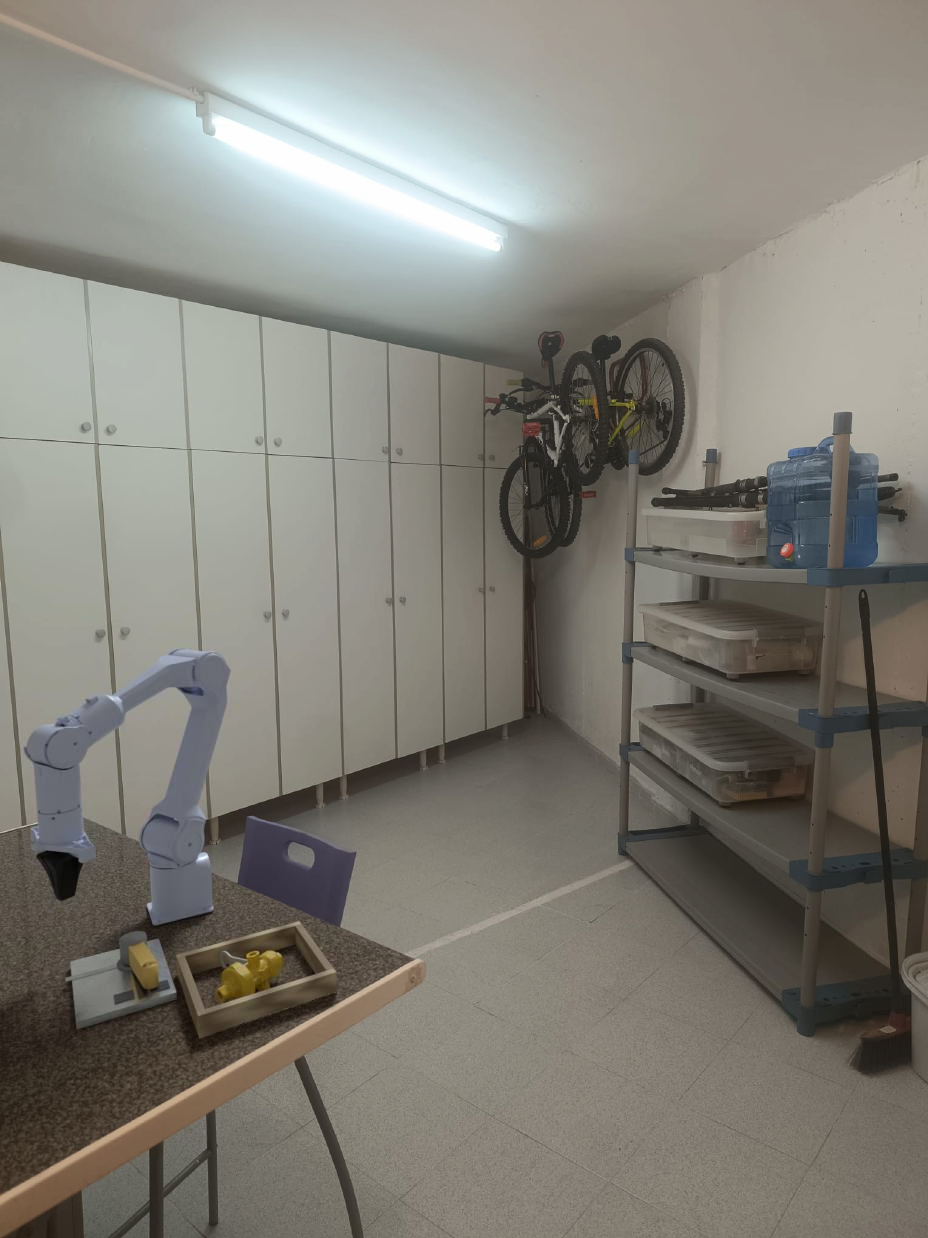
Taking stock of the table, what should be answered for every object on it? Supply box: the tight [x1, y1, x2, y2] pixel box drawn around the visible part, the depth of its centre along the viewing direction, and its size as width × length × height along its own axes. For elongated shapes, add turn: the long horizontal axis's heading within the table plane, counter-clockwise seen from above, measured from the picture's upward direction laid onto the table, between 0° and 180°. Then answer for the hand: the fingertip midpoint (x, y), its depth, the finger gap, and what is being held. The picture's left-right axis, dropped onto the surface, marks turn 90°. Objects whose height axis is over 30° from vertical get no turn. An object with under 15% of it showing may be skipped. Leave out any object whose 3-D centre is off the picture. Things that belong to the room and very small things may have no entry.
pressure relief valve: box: [215, 951, 284, 1003], centre depth 101 cm, size 6×12×10 cm
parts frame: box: [175, 921, 338, 1040], centre depth 102 cm, size 18×16×3 cm
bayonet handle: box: [118, 930, 159, 989], centre depth 103 cm, size 11×4×3 cm, turn 39°
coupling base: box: [64, 938, 178, 1030], centre depth 102 cm, size 13×16×1 cm
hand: (65, 897), depth 107 cm, fingers closed
